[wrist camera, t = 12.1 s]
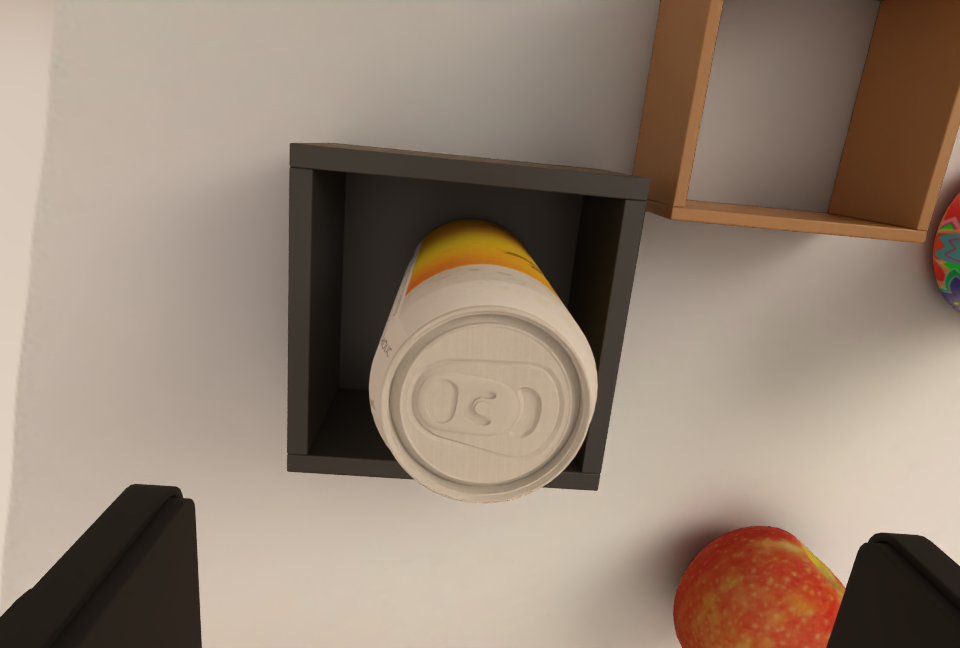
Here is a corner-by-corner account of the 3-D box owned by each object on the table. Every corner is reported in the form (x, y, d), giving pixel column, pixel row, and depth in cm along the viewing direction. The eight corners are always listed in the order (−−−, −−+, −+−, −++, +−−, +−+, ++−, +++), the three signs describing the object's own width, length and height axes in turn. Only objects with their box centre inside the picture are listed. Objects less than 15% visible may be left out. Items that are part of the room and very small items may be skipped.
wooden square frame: (666, -39, 26) (726, -89, 21) (894, -10, 27) (1013, -52, 21) (627, 204, 29) (670, 219, 24) (834, 224, 30) (924, 243, 24)
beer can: (518, 348, 31) (577, 531, 16) (397, 328, 30) (348, 499, 16) (544, 229, 29) (635, 315, 15) (417, 205, 28) (381, 270, 14)
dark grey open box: (331, 142, 28) (289, 143, 21) (601, 169, 29) (650, 178, 22) (324, 397, 31) (286, 472, 24) (565, 413, 32) (598, 491, 25)
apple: (823, 561, 36) (924, 676, 28) (710, 644, 37) (777, 774, 29) (744, 475, 34) (830, 572, 26) (628, 565, 35) (677, 683, 28)
